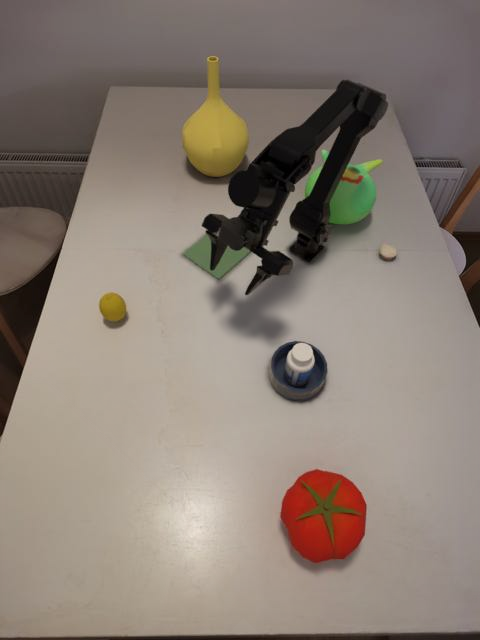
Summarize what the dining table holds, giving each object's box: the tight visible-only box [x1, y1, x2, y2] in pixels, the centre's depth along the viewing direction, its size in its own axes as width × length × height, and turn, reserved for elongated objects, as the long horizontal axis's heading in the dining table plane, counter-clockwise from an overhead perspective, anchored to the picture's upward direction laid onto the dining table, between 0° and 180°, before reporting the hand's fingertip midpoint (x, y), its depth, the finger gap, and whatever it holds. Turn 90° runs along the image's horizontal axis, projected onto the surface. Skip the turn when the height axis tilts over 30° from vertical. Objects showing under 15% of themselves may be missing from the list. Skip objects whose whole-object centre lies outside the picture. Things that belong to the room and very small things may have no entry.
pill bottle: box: [284, 342, 315, 386], centre depth 85 cm, size 6×5×10 cm
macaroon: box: [379, 243, 398, 261], centre depth 107 cm, size 4×5×2 cm
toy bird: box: [304, 149, 384, 225], centre depth 110 cm, size 18×17×15 cm
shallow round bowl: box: [269, 340, 328, 401], centre depth 88 cm, size 11×11×4 cm
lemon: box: [98, 292, 127, 322], centre depth 93 cm, size 6×6×8 cm
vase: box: [181, 55, 250, 178], centre depth 114 cm, size 18×18×30 cm
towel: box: [182, 234, 252, 281], centre depth 108 cm, size 14×12×1 cm
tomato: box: [279, 468, 368, 564], centre depth 70 cm, size 13×14×12 cm
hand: (228, 282), depth 84 cm, fingers open, 9 cm apart
